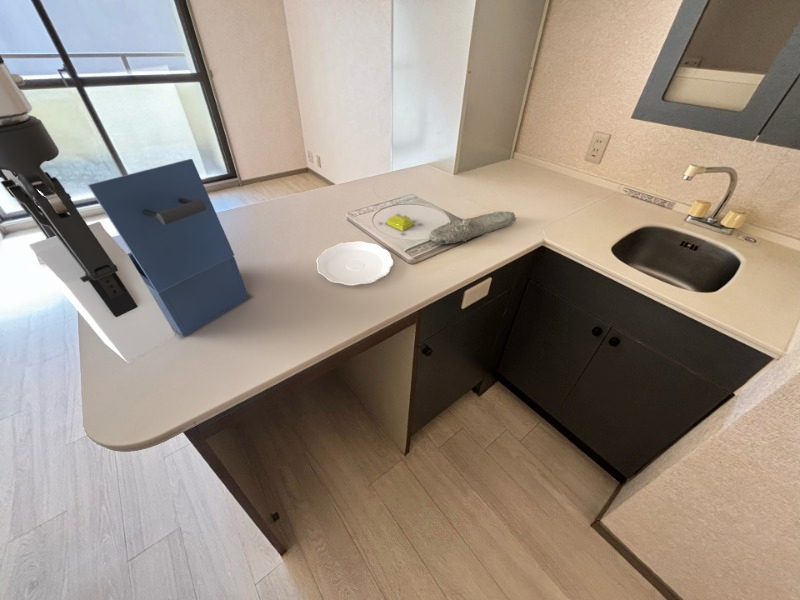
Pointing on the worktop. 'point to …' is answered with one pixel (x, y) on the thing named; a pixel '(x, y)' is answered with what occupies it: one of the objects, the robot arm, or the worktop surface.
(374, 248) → the plate
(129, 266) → the milk carton
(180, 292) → the cool box
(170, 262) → the cool box lid
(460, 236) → the elongated rock
